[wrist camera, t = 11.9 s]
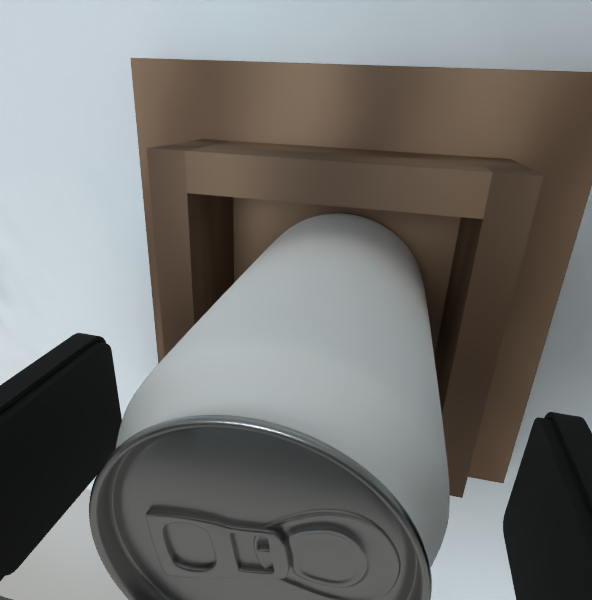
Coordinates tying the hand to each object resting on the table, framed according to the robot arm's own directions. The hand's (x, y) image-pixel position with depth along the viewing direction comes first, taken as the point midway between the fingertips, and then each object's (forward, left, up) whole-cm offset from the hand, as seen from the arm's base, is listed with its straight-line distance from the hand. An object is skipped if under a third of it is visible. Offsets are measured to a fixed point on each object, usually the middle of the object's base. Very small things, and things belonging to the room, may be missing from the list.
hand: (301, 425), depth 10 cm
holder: (0, 0, -10) cm, 10 cm away
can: (0, 0, -9) cm, 9 cm away
